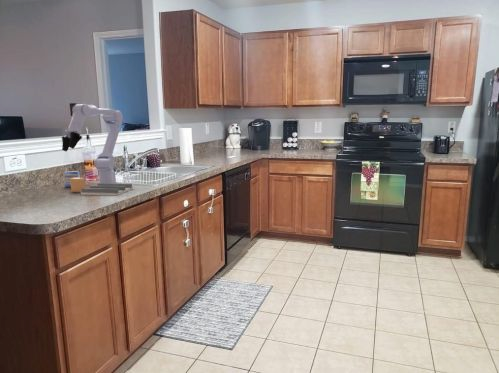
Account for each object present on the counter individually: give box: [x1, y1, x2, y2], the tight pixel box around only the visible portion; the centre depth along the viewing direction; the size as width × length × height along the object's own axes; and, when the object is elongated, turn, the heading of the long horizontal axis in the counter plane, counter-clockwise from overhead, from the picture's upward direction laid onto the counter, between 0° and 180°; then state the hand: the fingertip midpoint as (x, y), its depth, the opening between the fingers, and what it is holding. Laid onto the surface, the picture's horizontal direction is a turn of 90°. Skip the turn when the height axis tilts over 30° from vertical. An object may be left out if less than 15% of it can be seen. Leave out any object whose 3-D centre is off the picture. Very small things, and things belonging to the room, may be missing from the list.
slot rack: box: [80, 182, 134, 196], centre depth 201 cm, size 17×20×3 cm
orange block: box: [70, 177, 87, 193], centre depth 204 cm, size 4×6×7 cm, turn 79°
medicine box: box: [62, 170, 81, 188], centre depth 218 cm, size 8×4×9 cm, turn 105°
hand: (67, 149), depth 191 cm, fingers open, 7 cm apart
